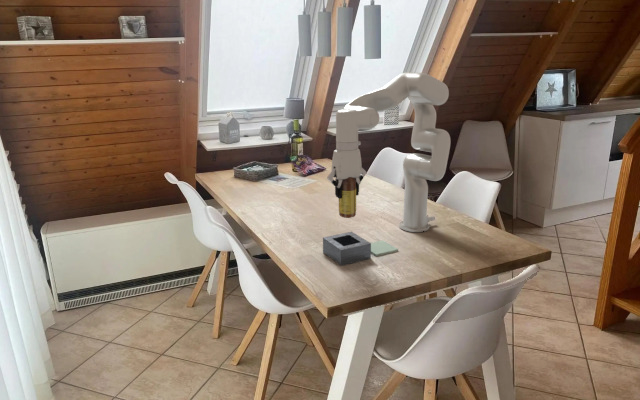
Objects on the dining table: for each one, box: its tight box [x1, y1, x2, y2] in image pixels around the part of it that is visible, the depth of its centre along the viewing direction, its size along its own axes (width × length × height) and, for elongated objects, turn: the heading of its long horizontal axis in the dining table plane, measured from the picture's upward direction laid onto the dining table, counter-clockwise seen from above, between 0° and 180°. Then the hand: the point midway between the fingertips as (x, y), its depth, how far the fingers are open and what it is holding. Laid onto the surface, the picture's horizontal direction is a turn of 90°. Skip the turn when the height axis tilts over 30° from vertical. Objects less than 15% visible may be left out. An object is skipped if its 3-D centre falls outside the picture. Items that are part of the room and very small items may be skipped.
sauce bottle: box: [338, 177, 357, 219], centre depth 172 cm, size 7×6×20 cm
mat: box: [370, 239, 399, 257], centre depth 185 cm, size 10×10×1 cm
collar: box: [322, 231, 372, 267], centre depth 179 cm, size 12×13×6 cm
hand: (347, 195), depth 173 cm, fingers closed on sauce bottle, 6 cm apart
